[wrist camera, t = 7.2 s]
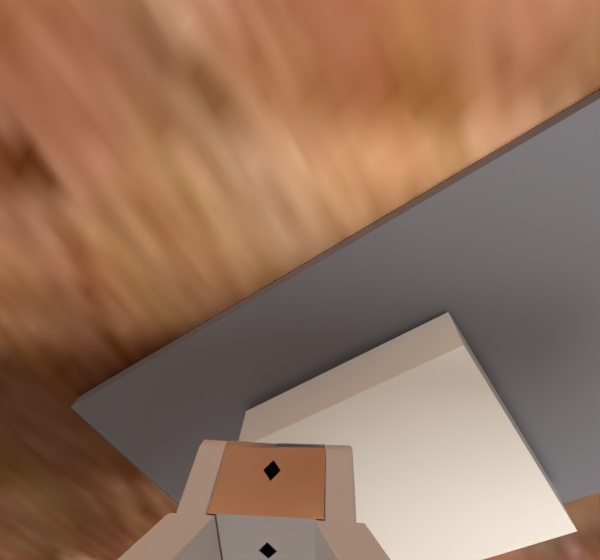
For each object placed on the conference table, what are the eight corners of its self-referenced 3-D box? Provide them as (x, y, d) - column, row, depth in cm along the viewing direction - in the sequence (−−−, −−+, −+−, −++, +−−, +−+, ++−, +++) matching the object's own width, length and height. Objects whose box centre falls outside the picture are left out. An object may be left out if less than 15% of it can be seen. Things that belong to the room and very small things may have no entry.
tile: (247, 406, 16) (369, 542, 19) (236, 449, 14) (373, 592, 17) (446, 308, 14) (550, 480, 17) (463, 345, 12) (577, 530, 15)
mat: (280, 582, 22) (278, 595, 21) (78, 396, 17) (70, 407, 17) (783, 415, 15) (800, 427, 15) (676, 44, 11) (695, 42, 10)
